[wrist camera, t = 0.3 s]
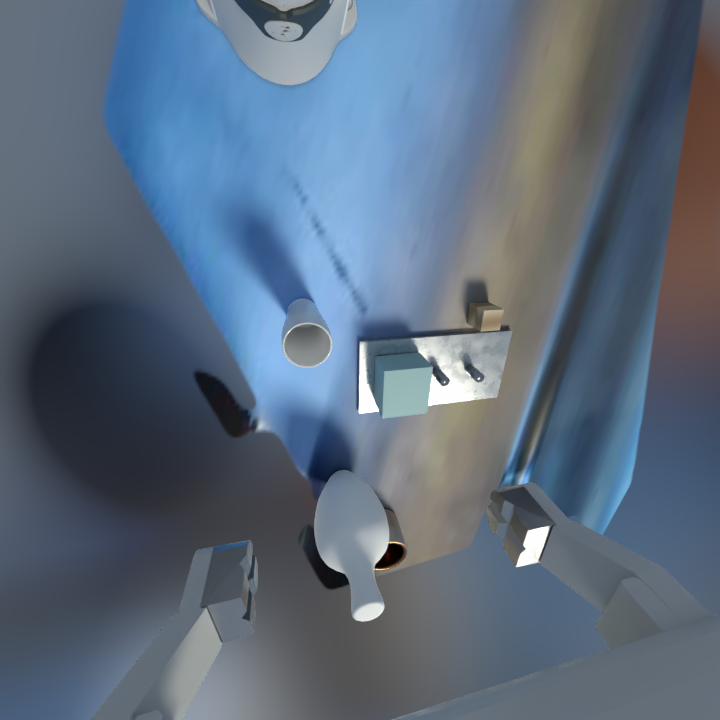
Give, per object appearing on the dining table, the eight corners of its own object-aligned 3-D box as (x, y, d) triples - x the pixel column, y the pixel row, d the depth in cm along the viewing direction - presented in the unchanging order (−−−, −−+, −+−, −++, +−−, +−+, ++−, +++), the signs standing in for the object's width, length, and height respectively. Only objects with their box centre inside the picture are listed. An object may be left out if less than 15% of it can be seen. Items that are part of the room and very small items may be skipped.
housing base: (358, 340, 59) (364, 351, 55) (509, 329, 65) (525, 338, 61) (358, 410, 66) (363, 425, 62) (494, 394, 72) (508, 406, 68)
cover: (375, 356, 60) (384, 371, 54) (419, 352, 62) (432, 366, 56) (373, 400, 64) (382, 418, 59) (415, 395, 66) (427, 413, 60)
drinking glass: (284, 290, 52) (283, 318, 39) (324, 296, 54) (336, 324, 41) (281, 328, 55) (279, 366, 42) (319, 332, 57) (329, 370, 44)
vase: (324, 507, 76) (342, 649, 52) (299, 468, 70) (307, 611, 45) (378, 483, 77) (422, 614, 52) (359, 443, 70) (399, 571, 45)
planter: (355, 510, 80) (364, 546, 71) (396, 503, 82) (409, 537, 73) (356, 538, 84) (363, 575, 76) (394, 531, 86) (406, 566, 78)
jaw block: (469, 303, 61) (484, 310, 56) (488, 302, 62) (504, 309, 57) (466, 322, 63) (480, 331, 58) (484, 321, 63) (499, 330, 59)
